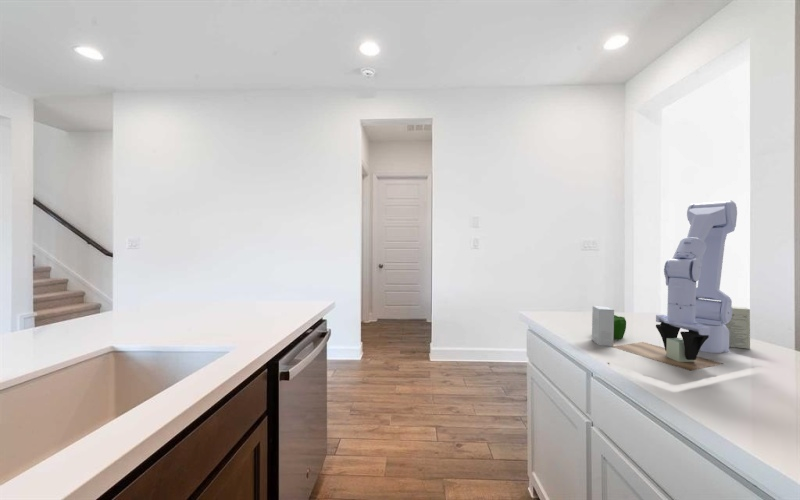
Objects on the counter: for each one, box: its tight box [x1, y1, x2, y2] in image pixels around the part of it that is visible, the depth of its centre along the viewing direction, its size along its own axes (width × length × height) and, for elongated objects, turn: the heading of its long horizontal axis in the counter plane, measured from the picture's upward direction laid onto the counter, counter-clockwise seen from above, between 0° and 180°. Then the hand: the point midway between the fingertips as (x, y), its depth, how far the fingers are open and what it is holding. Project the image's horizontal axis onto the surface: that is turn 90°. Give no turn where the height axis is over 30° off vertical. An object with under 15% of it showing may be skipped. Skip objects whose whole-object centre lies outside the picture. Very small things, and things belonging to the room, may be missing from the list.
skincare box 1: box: [591, 305, 615, 347], centre depth 104 cm, size 6×4×12 cm
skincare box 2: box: [724, 306, 751, 350], centre depth 105 cm, size 6×4×12 cm
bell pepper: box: [614, 314, 627, 340], centre depth 111 cm, size 8×8×10 cm
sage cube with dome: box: [666, 337, 694, 362], centre depth 89 cm, size 4×4×5 cm
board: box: [611, 341, 724, 371], centre depth 93 cm, size 14×20×1 cm
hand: (680, 355), depth 89 cm, fingers open, 6 cm apart
